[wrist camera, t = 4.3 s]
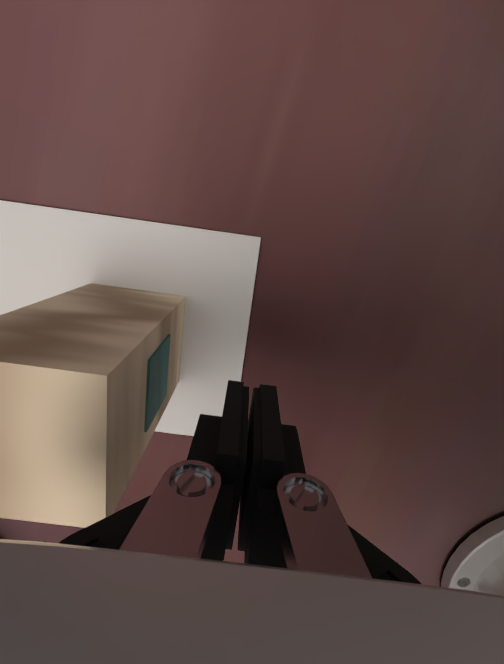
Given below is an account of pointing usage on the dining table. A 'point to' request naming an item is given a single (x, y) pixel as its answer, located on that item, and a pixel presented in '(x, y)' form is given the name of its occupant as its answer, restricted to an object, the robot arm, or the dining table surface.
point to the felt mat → (142, 286)
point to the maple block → (82, 398)
